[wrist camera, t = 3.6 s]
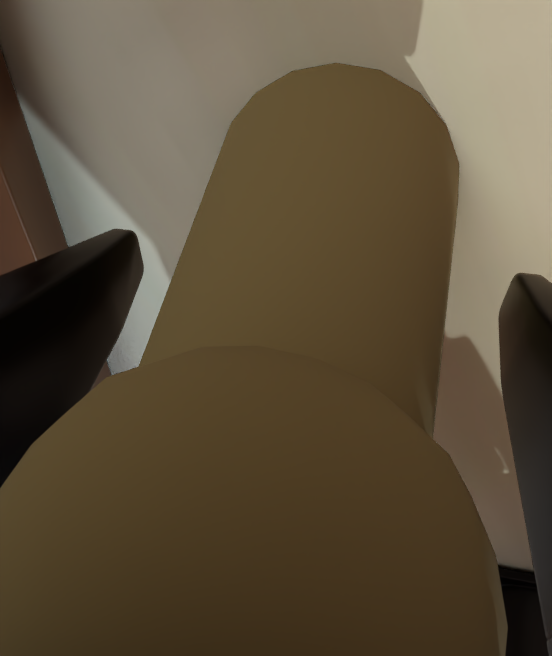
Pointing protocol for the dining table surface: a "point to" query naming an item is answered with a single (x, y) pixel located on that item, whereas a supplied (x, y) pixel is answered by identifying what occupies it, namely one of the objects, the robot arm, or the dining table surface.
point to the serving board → (24, 193)
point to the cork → (273, 417)
